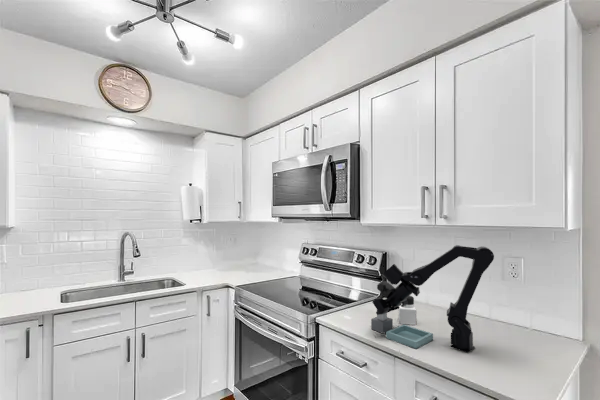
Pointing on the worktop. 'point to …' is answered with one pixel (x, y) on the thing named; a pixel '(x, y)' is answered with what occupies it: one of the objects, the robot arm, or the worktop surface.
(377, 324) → the grey tabbed block
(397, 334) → the tray
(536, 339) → the worktop surface
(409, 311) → the medicine bottle
